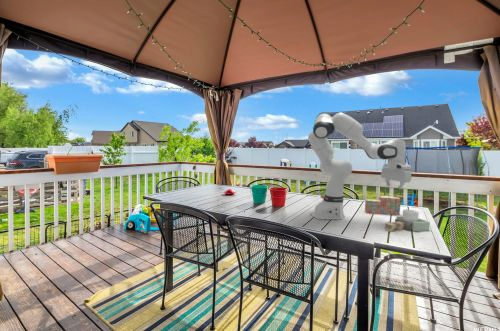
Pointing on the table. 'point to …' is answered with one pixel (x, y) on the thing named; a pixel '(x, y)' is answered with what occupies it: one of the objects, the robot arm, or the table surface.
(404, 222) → the scraper
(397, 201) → the stack of blocks
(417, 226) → the box
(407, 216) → the white cup
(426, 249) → the table surface
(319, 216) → the robot arm
